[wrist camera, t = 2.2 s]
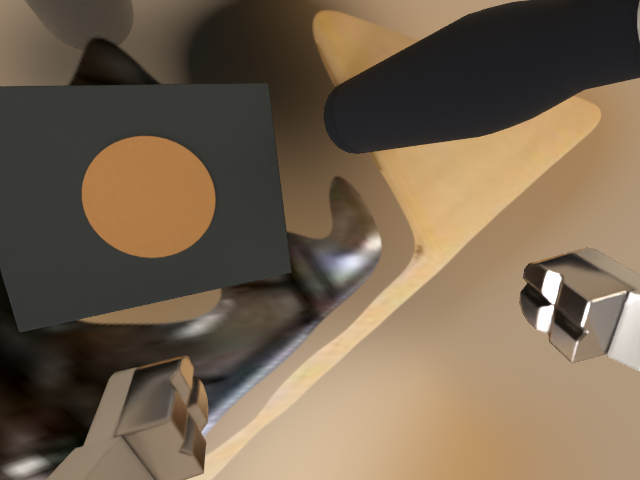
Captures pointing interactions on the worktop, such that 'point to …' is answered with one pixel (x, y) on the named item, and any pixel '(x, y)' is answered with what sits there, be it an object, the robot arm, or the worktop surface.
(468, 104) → the wine bottle
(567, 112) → the worktop surface
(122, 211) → the centre mat
